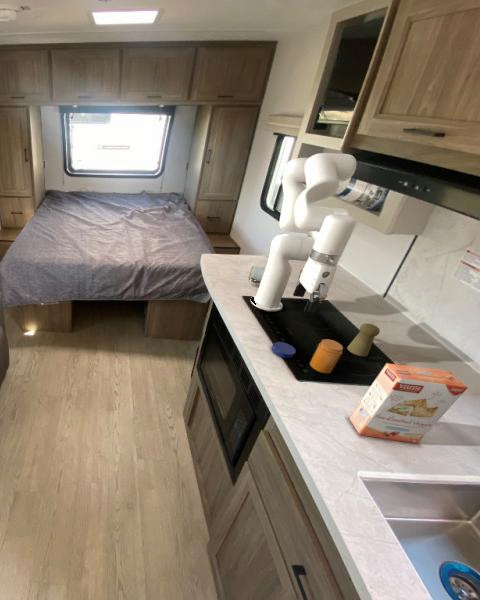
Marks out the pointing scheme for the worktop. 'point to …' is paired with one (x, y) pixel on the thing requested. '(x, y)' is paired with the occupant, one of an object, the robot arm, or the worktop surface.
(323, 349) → the jar
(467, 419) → the worktop surface
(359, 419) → the cracker box
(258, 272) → the ceramic mug
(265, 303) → the robot arm
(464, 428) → the worktop surface
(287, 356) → the lid
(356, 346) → the cork
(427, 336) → the worktop surface
